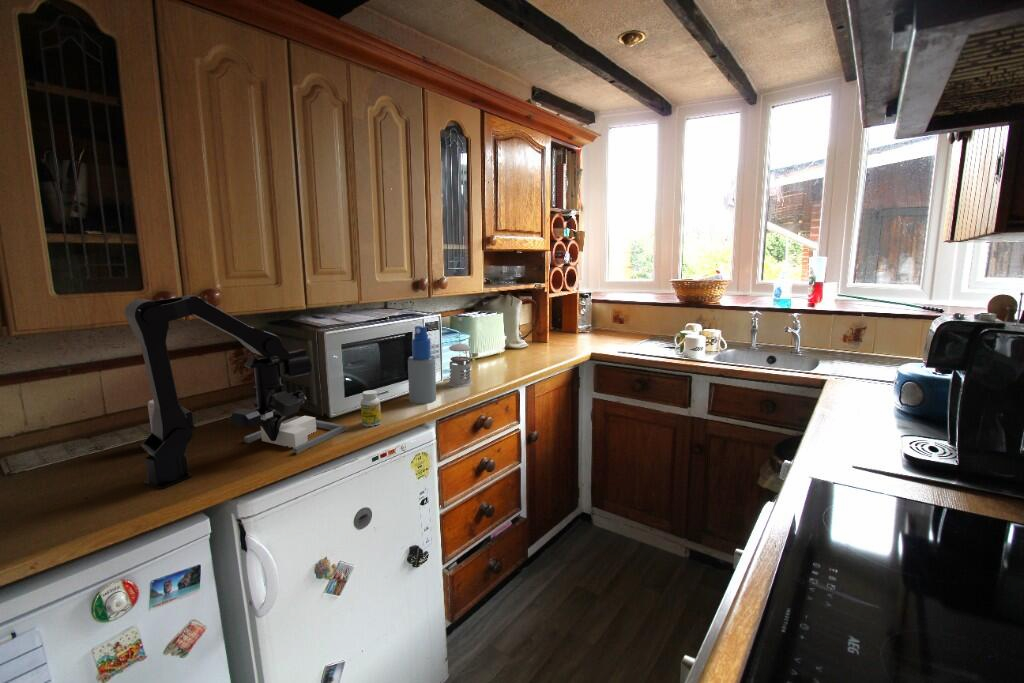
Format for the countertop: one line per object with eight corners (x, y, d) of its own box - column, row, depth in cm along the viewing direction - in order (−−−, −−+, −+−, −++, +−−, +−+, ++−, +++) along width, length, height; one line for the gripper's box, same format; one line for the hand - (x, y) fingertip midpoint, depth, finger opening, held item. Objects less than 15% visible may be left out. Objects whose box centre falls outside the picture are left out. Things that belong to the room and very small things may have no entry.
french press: (442, 385, 180) (440, 318, 175) (457, 377, 191) (456, 314, 186) (465, 388, 176) (464, 320, 171) (480, 380, 187) (479, 316, 182)
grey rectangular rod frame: (297, 454, 120) (296, 448, 120) (244, 442, 127) (244, 436, 127) (346, 430, 136) (345, 425, 136) (297, 420, 143) (296, 416, 143)
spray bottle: (426, 405, 158) (424, 329, 153) (403, 401, 161) (401, 327, 156) (441, 397, 166) (439, 325, 161) (418, 394, 169) (416, 323, 164)
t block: (295, 448, 124) (294, 433, 123) (261, 440, 129) (260, 426, 128) (327, 433, 134) (326, 419, 133) (295, 426, 138) (294, 413, 138)
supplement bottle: (382, 420, 144) (381, 389, 142) (379, 426, 139) (378, 394, 137) (363, 420, 144) (362, 389, 142) (360, 427, 138) (358, 395, 137)
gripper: (259, 396, 110) (265, 460, 113) (321, 376, 127) (324, 433, 130) (225, 390, 114) (231, 452, 117) (289, 372, 131) (293, 426, 134)
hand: (273, 440), depth 125 cm, fingers closed
